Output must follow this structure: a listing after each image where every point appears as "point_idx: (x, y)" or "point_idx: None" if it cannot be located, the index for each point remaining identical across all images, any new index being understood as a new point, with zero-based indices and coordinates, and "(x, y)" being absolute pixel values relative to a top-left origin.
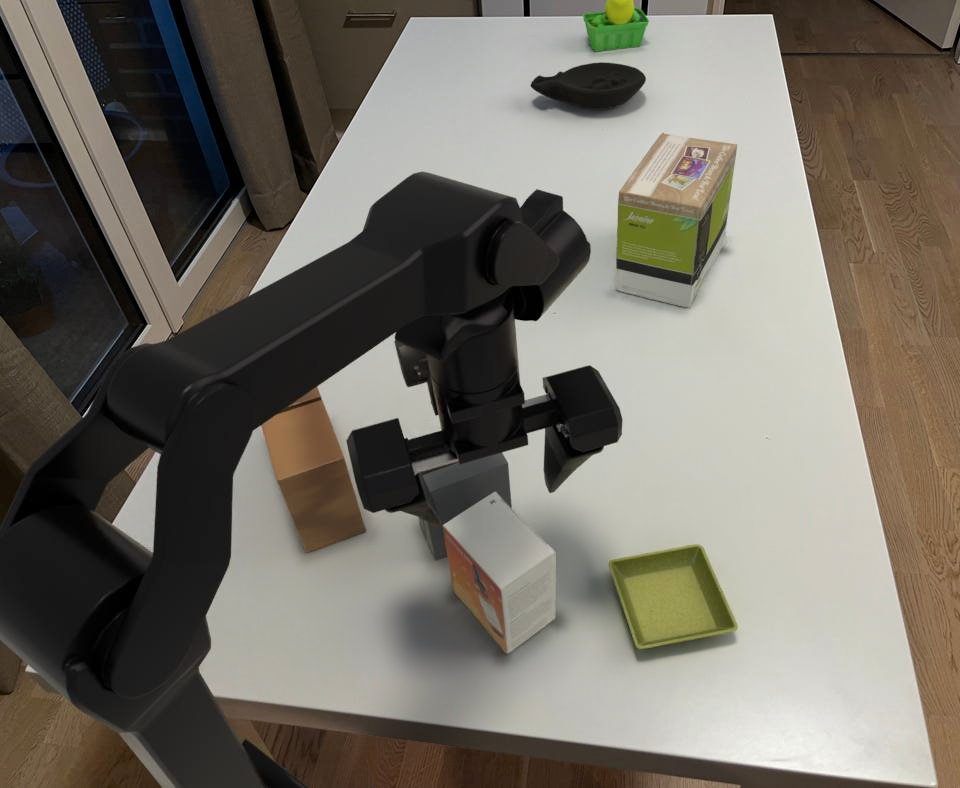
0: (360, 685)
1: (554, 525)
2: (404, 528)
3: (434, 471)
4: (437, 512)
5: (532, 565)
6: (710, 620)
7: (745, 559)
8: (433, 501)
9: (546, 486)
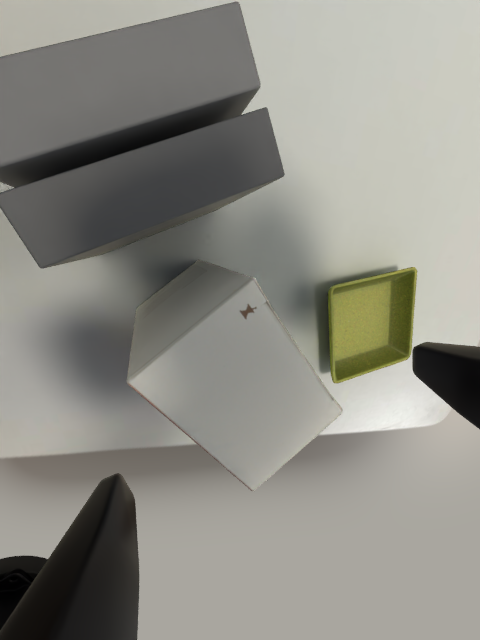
0: (27, 433)
1: (269, 207)
2: None
3: (66, 173)
4: (127, 576)
5: (307, 443)
6: (385, 337)
7: (428, 270)
8: (103, 583)
9: (414, 356)
